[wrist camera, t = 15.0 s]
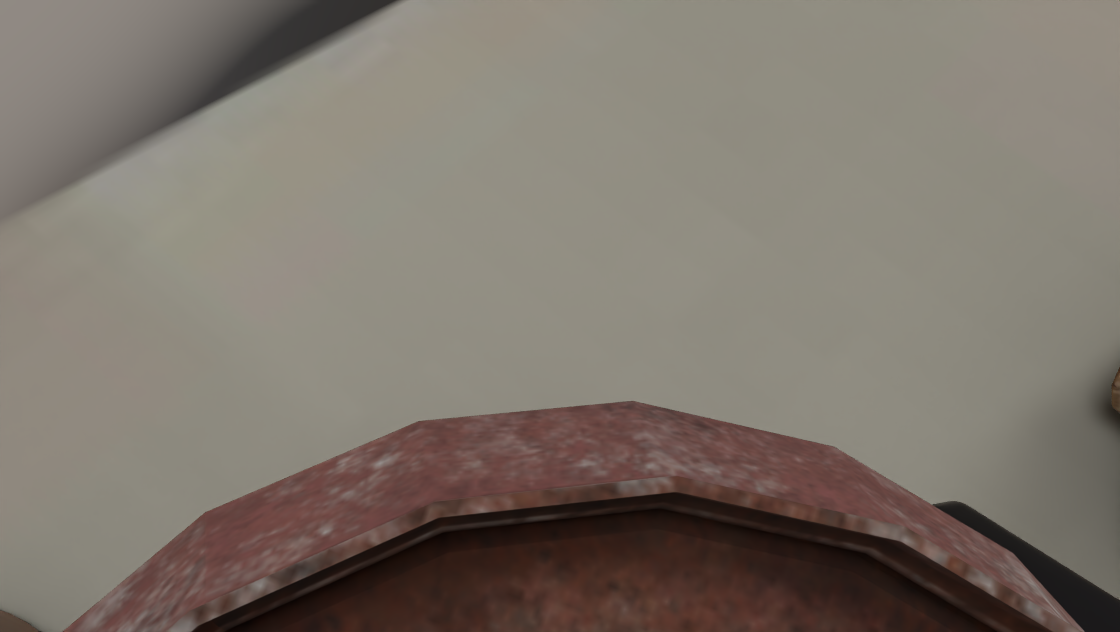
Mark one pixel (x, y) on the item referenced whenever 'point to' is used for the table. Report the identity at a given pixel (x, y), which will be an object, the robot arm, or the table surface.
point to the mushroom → (1116, 392)
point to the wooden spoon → (14, 624)
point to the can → (581, 540)
